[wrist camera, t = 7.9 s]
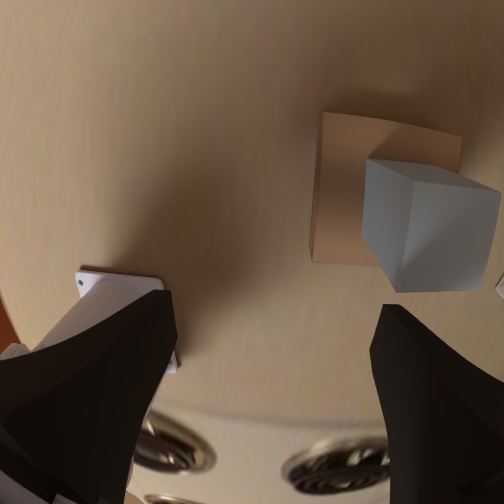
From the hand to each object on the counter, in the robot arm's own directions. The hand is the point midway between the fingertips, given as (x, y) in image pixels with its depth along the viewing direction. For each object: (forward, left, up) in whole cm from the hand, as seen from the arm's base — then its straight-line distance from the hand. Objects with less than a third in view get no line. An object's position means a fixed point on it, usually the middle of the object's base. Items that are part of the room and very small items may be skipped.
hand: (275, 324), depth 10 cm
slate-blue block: (+3, -6, -7) cm, 10 cm away
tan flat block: (+3, -6, -10) cm, 12 cm away
